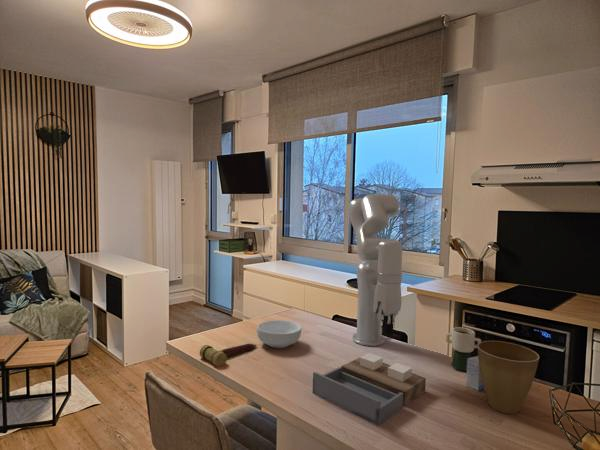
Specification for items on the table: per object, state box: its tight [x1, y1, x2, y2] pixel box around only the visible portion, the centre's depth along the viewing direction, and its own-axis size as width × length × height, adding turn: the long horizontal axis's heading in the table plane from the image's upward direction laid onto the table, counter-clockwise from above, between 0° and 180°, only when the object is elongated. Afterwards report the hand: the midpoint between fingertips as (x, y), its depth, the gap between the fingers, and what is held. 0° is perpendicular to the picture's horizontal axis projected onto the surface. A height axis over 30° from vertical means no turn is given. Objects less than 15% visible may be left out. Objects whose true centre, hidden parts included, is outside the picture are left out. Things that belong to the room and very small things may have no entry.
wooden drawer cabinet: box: [340, 357, 427, 407], centre depth 117 cm, size 12×22×4 cm, turn 46°
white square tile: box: [359, 352, 384, 370], centre depth 122 cm, size 5×5×2 cm
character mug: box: [445, 326, 482, 371], centre depth 130 cm, size 11×7×13 cm, turn 60°
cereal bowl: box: [256, 319, 302, 349], centre depth 148 cm, size 17×17×7 cm
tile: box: [388, 362, 413, 381], centre depth 115 cm, size 5×5×2 cm
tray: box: [312, 366, 404, 426], centre depth 108 cm, size 12×22×6 cm, turn 46°
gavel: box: [199, 343, 257, 367], centre depth 137 cm, size 21×5×10 cm
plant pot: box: [476, 340, 540, 415], centre depth 106 cm, size 15×15×16 cm
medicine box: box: [465, 355, 484, 392], centre depth 118 cm, size 8×4×9 cm, turn 117°
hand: (387, 334), depth 127 cm, fingers closed
